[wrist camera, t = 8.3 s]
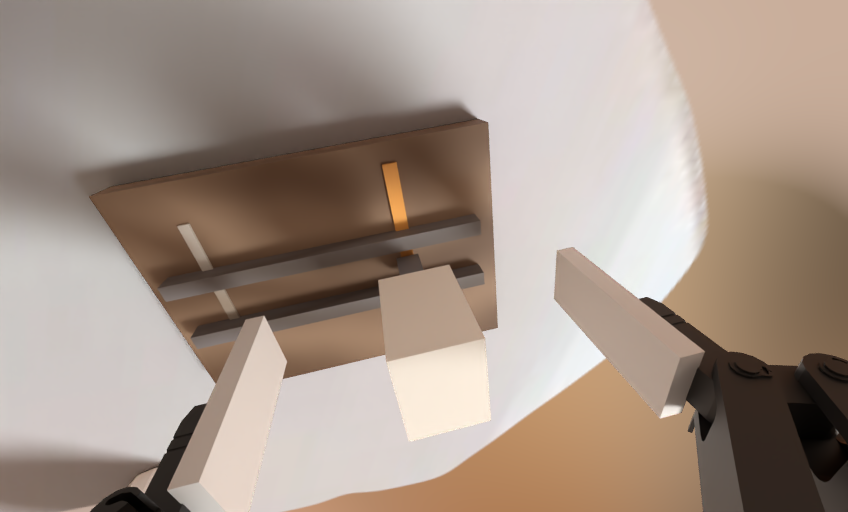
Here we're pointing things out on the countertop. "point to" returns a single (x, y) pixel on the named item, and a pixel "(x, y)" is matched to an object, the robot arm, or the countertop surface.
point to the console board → (311, 240)
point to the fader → (433, 350)
